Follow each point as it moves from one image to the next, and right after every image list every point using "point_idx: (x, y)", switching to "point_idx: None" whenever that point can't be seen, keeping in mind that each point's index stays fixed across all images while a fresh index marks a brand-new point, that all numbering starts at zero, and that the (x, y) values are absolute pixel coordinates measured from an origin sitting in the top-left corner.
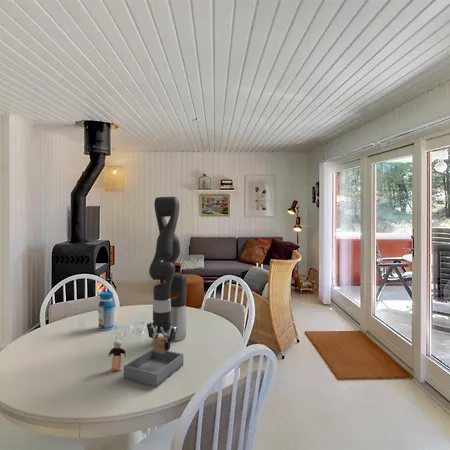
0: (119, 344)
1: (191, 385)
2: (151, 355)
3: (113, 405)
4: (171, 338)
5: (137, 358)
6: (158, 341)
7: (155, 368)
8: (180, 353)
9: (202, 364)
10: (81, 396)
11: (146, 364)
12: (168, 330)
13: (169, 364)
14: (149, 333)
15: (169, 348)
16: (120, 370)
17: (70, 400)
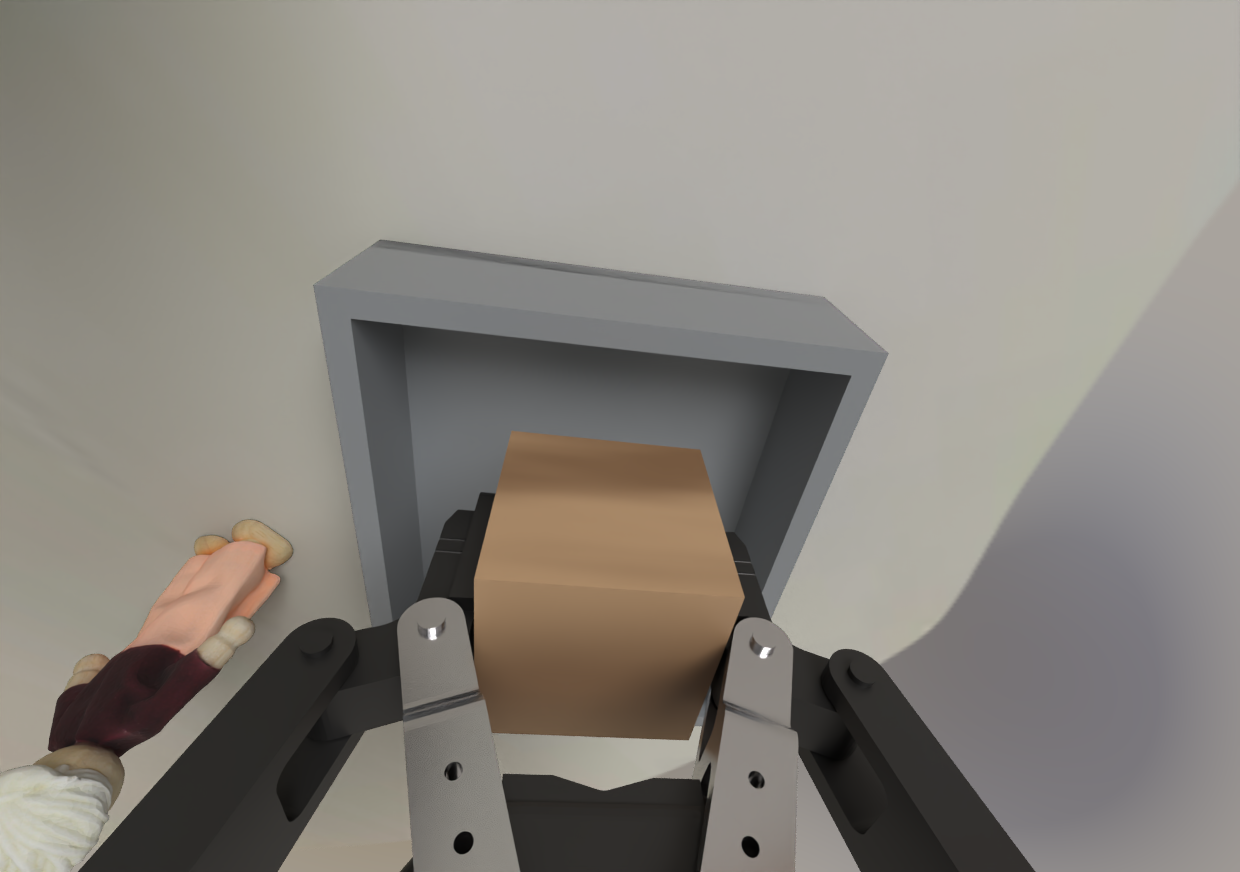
0: (104, 822)
1: (941, 564)
2: (387, 333)
3: (562, 772)
4: (860, 785)
5: (386, 600)
6: (591, 727)
7: None
8: (839, 350)
9: (1064, 195)
10: (356, 770)
11: (447, 453)
12: (784, 851)
13: (773, 604)
14: (291, 784)
15: (734, 543)
16: (292, 552)
17: (340, 794)
